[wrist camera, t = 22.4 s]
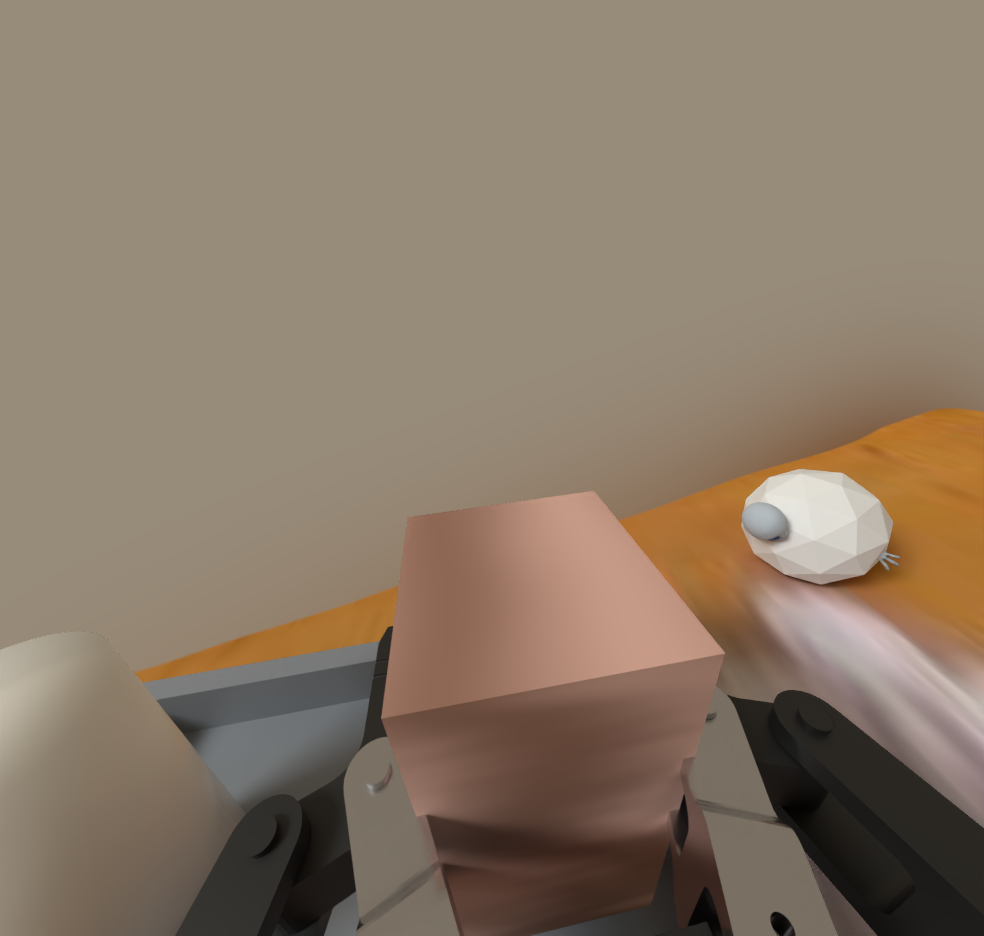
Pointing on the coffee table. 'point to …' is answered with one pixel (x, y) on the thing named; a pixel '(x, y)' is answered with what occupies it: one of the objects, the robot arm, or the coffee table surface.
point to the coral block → (543, 708)
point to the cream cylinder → (98, 797)
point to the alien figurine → (817, 526)
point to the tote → (320, 750)
